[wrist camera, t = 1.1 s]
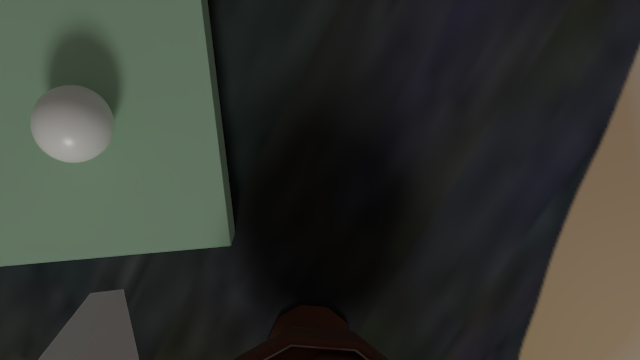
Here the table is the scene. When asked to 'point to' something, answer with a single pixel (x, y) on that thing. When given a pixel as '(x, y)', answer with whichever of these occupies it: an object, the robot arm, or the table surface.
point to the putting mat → (128, 137)
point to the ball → (72, 123)
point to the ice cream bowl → (312, 338)
